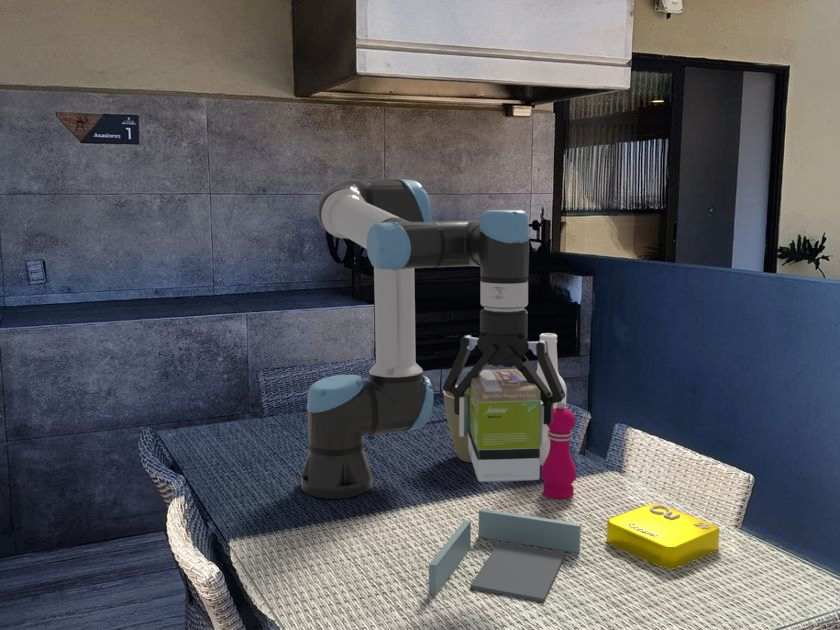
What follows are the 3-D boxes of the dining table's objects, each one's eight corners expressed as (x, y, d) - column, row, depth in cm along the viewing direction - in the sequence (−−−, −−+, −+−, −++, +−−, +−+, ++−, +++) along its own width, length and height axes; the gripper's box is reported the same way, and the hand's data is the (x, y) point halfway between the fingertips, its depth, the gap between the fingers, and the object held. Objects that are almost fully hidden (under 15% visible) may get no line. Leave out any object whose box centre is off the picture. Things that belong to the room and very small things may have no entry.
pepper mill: (575, 501, 166) (578, 406, 163) (539, 498, 168) (542, 404, 165) (576, 488, 173) (579, 397, 170) (541, 486, 175) (544, 395, 172)
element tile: (601, 542, 149) (602, 517, 148) (654, 522, 158) (655, 498, 157) (670, 573, 137) (671, 546, 136) (723, 550, 146) (724, 524, 145)
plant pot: (487, 473, 182) (488, 403, 180) (430, 461, 190) (431, 394, 188) (516, 454, 195) (518, 389, 192) (462, 443, 203) (462, 381, 200)
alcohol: (566, 456, 193) (570, 332, 188) (560, 469, 185) (564, 339, 180) (530, 452, 196) (533, 329, 191) (522, 464, 188) (525, 336, 183)
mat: (470, 588, 131) (470, 585, 131) (498, 544, 147) (498, 541, 146) (544, 602, 127) (544, 598, 127) (565, 555, 142) (565, 552, 142)
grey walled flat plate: (428, 593, 129) (428, 564, 128) (474, 533, 151) (474, 507, 151) (551, 617, 122) (552, 586, 121) (580, 550, 144) (581, 523, 144)
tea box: (465, 451, 141) (466, 367, 138) (523, 450, 141) (525, 367, 139) (476, 482, 126) (477, 389, 123) (541, 481, 126) (543, 388, 124)
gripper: (423, 307, 131) (423, 436, 134) (576, 315, 121) (572, 454, 125) (440, 301, 138) (440, 424, 141) (586, 308, 128) (582, 440, 131)
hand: (502, 438), depth 133 cm, fingers closed on tea box, 12 cm apart
